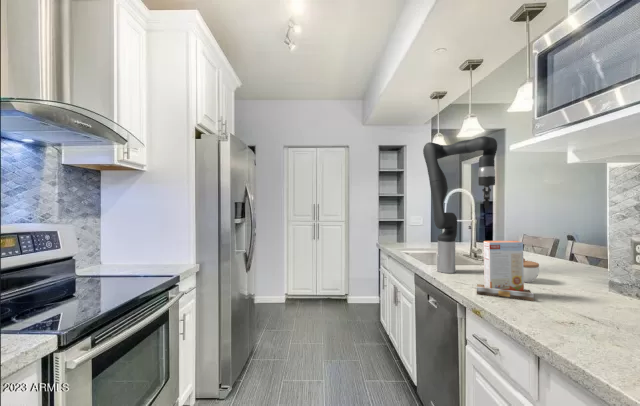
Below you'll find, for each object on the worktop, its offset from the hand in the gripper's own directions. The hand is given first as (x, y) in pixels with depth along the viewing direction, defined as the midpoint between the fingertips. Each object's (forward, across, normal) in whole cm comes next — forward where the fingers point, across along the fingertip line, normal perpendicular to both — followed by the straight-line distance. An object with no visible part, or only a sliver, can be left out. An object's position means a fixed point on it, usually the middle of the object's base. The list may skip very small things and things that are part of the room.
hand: (486, 208), depth 157 cm
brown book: (+36, +26, +6) cm, 45 cm away
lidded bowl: (+36, -4, +16) cm, 40 cm away
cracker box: (+35, +25, +6) cm, 43 cm away
